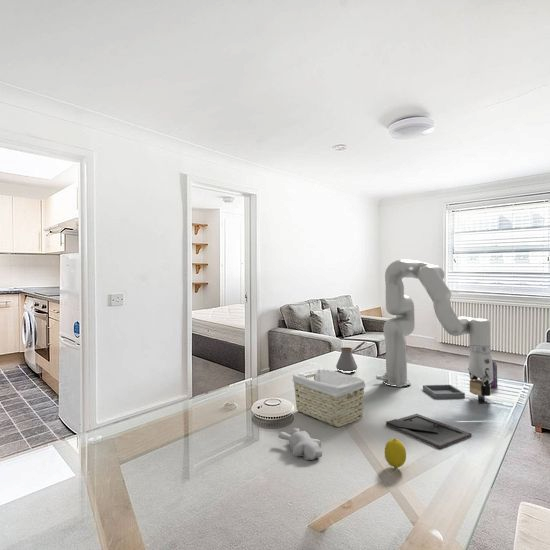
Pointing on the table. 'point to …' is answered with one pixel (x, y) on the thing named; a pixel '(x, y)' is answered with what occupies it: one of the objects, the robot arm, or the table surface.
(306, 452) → the bunny figurine
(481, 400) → the grey knobbed square plate
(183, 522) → the table surface
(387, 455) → the lemon
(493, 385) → the beverage can
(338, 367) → the coffee pot
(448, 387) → the charcoal tray
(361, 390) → the storage basket
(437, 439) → the picture frame
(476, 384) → the maple ring
